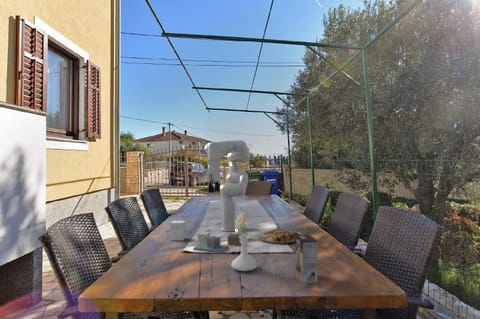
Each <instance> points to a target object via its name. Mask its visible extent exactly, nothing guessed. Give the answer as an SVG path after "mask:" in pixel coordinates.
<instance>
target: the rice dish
mask: <svg viewBox="0 0 480 319" xmlns="http://www.w3.org/2000/svg"><path fill="white" fill-rule="evenodd" d="M298 234H305V233H302V232H300V231H297V230H296V231H295V230H282V229H280V228H276V229H272V230H269V231H266V232H265V231H264V232H262V233H260V234H259V235H257V238H258V239H259V240H261V241H264V242H268V243H277V244H287V243H293V242H294V243H295V235H298Z"/></svg>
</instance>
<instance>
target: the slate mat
mask: <svg viewBox="0 0 480 319" xmlns="http://www.w3.org/2000/svg"><path fill="white" fill-rule="evenodd" d="M228 247H229V245H228V244H220V247H218V248H215V249H212V248H209V247H207V243H199V244H197V245H195V246H194V247H193V251H200V252H201V251H203V252H211V253H224V252H225V250H227V249H228Z"/></svg>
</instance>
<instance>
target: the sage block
mask: <svg viewBox="0 0 480 319" xmlns="http://www.w3.org/2000/svg"><path fill="white" fill-rule="evenodd" d="M207 237H211V231H203V230H202V231H200V232H199V233H198V234H197V243H199V244H200V243H205V244H207Z"/></svg>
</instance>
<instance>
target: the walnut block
mask: <svg viewBox="0 0 480 319" xmlns="http://www.w3.org/2000/svg"><path fill="white" fill-rule="evenodd" d="M238 236H240V234H235V233H230V234H228V235H227V245H228V246H233V245H237V244H238V245H239V244H241V240H240V238H239V237H238ZM238 245H237V246H238Z"/></svg>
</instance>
